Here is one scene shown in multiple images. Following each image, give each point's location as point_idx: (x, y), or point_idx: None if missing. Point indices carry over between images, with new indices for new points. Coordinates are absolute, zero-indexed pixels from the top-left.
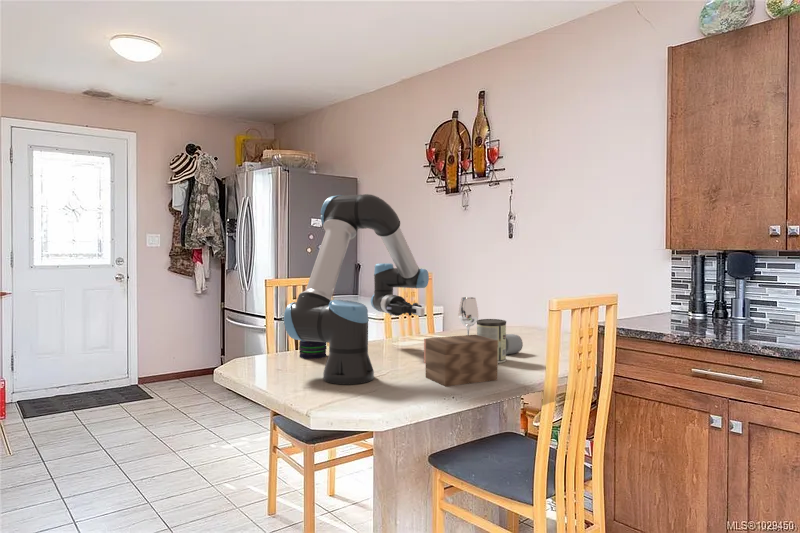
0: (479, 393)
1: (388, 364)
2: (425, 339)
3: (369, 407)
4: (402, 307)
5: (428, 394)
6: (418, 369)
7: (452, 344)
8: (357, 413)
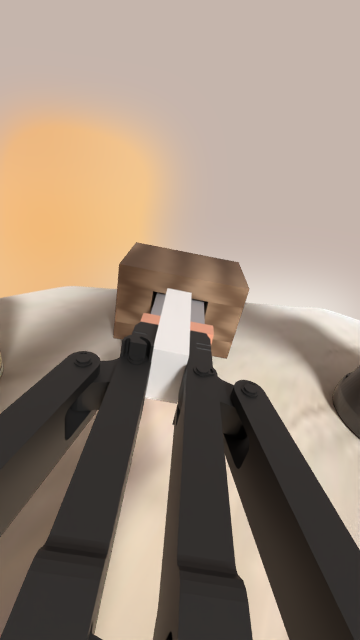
0: None
1: None
2: (213, 331)
3: (335, 322)
4: (267, 405)
5: (258, 316)
6: None
7: (225, 260)
8: (347, 318)
